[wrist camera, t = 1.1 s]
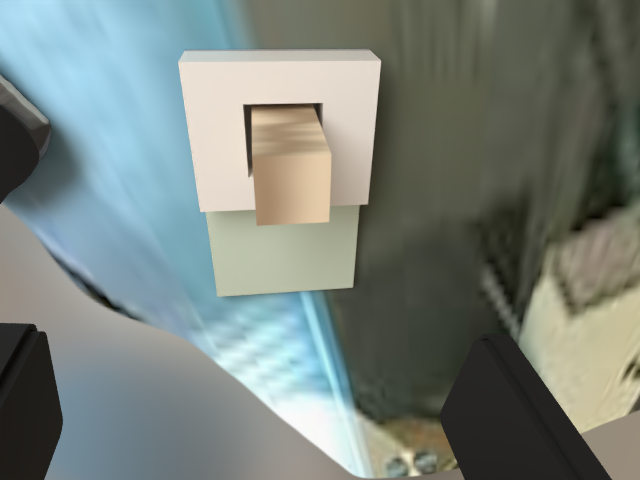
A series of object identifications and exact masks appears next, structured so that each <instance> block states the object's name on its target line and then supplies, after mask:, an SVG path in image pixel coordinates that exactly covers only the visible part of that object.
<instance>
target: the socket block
mask: <svg viewBox="0 0 640 480" xmlns="http://www.w3.org/2000/svg"><path fill="white" fill-rule="evenodd" d="M178 64H179V71H180V78H181V84H182V91H183V98H184V105H185V111H186V118H187V125H188V132H189V138H190V145H191V152H192V159H193V165H194V172H195V179H196V186H197V192H198V199H199V206H200V212H213V211H235V210H256V208H255V194H254V179H253V164H252V105H251V104H290V103H312V104H313V107H314V109H315V112H316V115H317V117H318V120H319V123H320V125H321V128H322V131H323V133H324V136H325V139H326V141H327V144H328V147H329V149H330V152H331V155H332V159H331V185H330V206H343V205H364V204H368V197H369V187H370V176H371V165H372V154H373V143H374V132H375V121H376V111H377V100H378V89H379V78H380V67H381V60H380V59H379V58H378V57H377V56H376V55H374V54H373V53H372V52H371V51H370V50H369V49H235V50H185V51H184V53H183V55H182V57H181V58H180V60H179V62H178Z"/></svg>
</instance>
